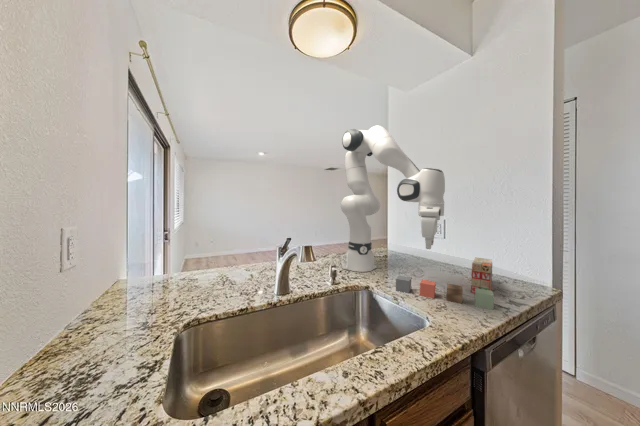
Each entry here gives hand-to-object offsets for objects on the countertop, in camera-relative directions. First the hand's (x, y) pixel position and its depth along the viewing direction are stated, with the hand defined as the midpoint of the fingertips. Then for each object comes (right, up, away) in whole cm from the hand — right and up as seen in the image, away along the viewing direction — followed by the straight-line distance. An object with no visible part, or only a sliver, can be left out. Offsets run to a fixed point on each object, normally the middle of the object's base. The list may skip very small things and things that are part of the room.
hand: (429, 246), depth 91 cm
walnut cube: (+8, -19, -3) cm, 21 cm away
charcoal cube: (-8, -19, +5) cm, 21 cm away
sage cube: (+15, -20, -8) cm, 26 cm away
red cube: (0, -19, +1) cm, 19 cm away
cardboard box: (+27, -19, +11) cm, 35 cm away
